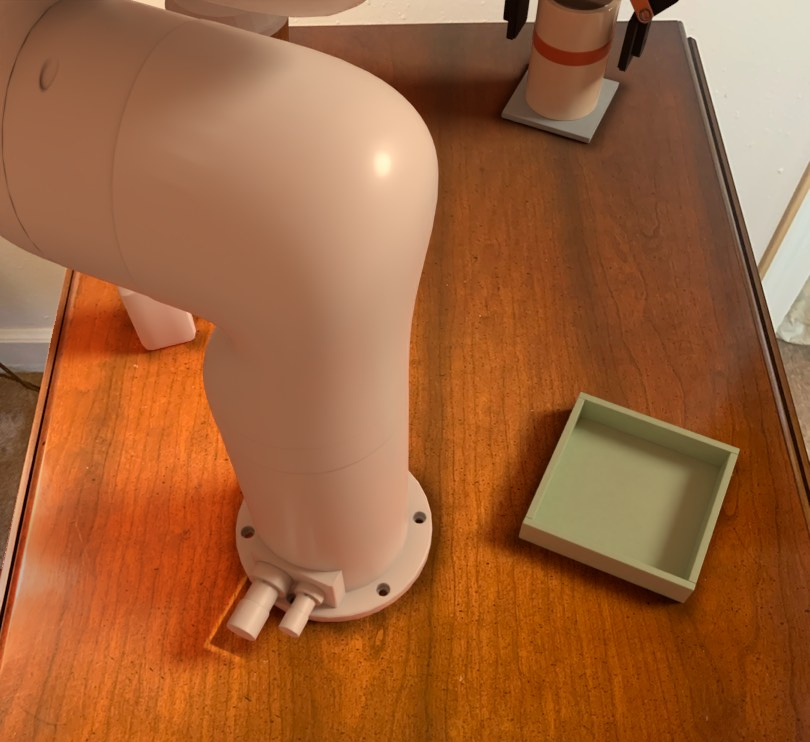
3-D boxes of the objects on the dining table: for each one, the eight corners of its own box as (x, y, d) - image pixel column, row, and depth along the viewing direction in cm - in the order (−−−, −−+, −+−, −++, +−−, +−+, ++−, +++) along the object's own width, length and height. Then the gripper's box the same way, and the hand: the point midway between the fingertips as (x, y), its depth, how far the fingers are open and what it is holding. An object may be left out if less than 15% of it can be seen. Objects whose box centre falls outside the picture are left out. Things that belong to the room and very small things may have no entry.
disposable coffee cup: (304, 166, 68) (285, 21, 57) (190, 164, 68) (150, 20, 57) (312, 91, 72) (296, -57, 61) (205, 89, 72) (170, -59, 62)
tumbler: (584, 130, 69) (608, 23, 61) (513, 108, 71) (527, 1, 62) (608, 84, 72) (634, -24, 64) (539, 64, 73) (556, -44, 65)
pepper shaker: (199, 342, 60) (165, 244, 52) (145, 355, 60) (101, 258, 51) (188, 302, 62) (154, 200, 53) (136, 314, 61) (92, 214, 53)
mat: (588, 143, 69) (589, 138, 69) (501, 117, 71) (501, 112, 70) (618, 87, 73) (619, 82, 72) (533, 63, 74) (534, 58, 74)
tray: (681, 605, 51) (693, 590, 49) (517, 539, 53) (522, 522, 51) (727, 467, 55) (740, 448, 53) (573, 411, 57) (580, 391, 55)
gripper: (471, -222, 52) (456, 44, 67) (739, -163, 49) (659, 102, 64) (514, -272, 55) (490, -6, 70) (769, -219, 52) (685, 47, 67)
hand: (570, 45), depth 67 cm, fingers open, 9 cm apart
